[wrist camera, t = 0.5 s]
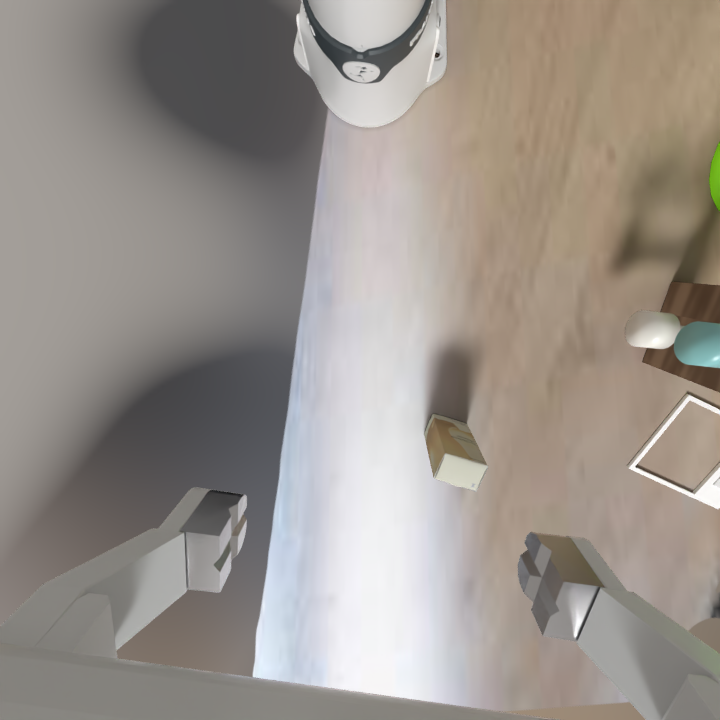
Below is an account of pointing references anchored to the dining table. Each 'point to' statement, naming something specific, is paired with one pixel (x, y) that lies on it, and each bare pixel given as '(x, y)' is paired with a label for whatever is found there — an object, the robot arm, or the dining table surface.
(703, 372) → the block
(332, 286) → the dining table surface
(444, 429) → the skincare box
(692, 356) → the knob upper
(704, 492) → the photo frame
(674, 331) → the knob lower
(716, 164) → the wineglass
